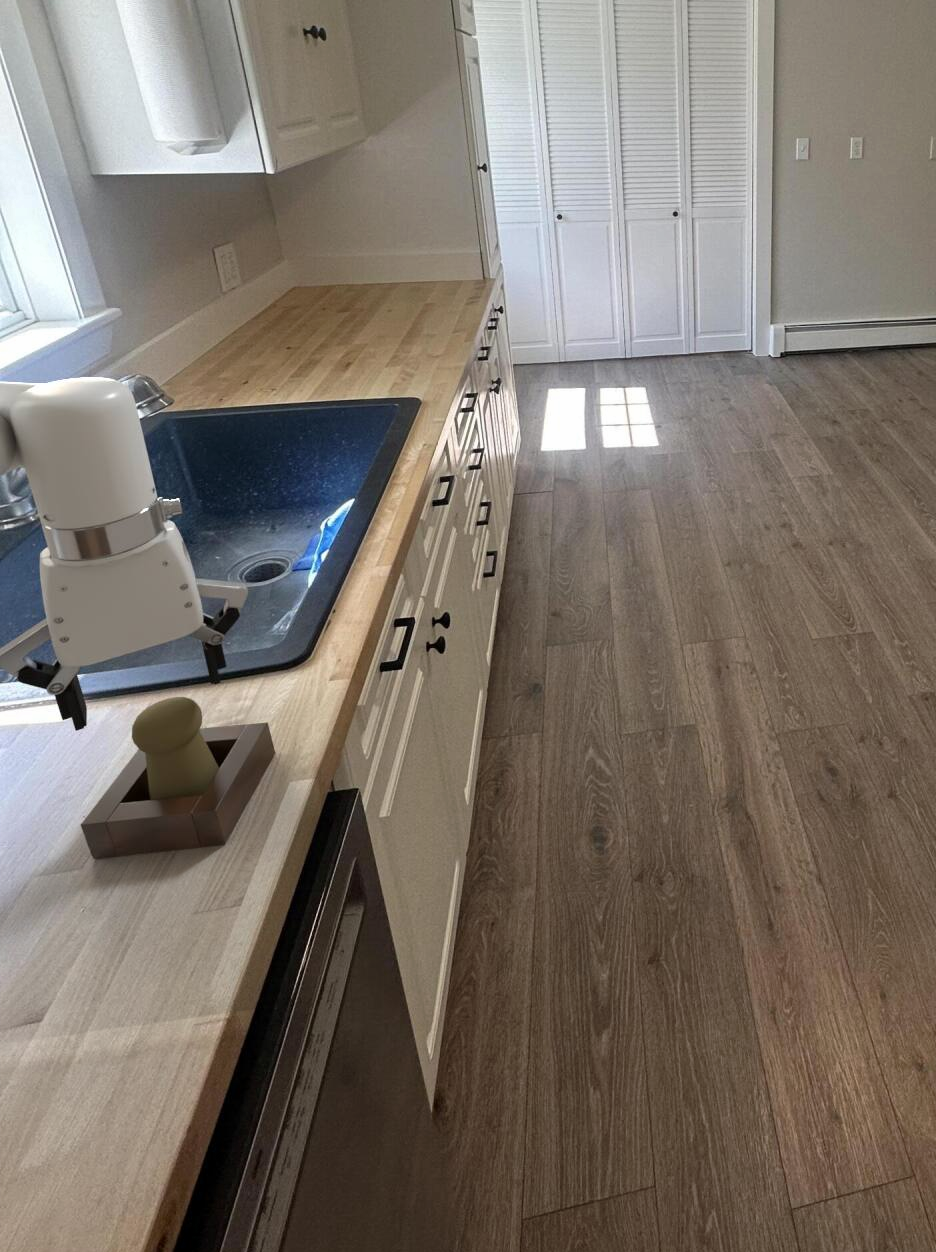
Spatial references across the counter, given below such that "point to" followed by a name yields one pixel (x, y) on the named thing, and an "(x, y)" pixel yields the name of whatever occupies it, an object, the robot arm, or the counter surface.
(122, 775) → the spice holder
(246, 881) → the counter surface
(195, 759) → the cork
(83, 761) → the counter surface
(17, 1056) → the counter surface
